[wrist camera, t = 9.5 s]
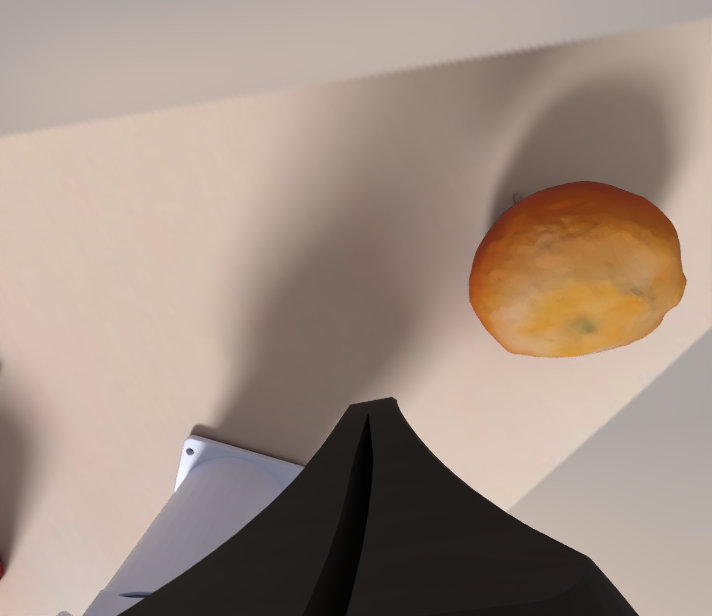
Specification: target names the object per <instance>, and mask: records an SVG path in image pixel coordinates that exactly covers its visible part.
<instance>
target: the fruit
mask: <svg viewBox="0 0 712 616" xmlns="http://www.w3.org/2000/svg"><path fill="white" fill-rule="evenodd" d="M513 197H514V199H515V202H516V204H515V205H514V206H513V207H511V208H510V209H508V210H507V211H506V212H505V213H503V214H502V215H501V217H500V218H499V219H498V220H497V221H496V222H495V224H494V225H493V226H492V227H491V229H490V230H489V231H488V233H487V234H486V236H485V237H484V239H483V240H482V242H481V244H480V245H479V247H478V249H477V251H476V254H475V257H474V261H473V265H472V270H471V274H470V278H469V298H470V303H471V305H472V307H473V309H474V311H475V313H476V315H477V316H478V318H479V320H480V321H481V323H482V324H483V326H484V327H485V329H486V330H487V331H488V332H489V333H490V334H491V335H492V336H493V337H494V338H495V339H496V340H497V341H498V342H499V343H500V344H501V345H502V346H503V347H504V348H505V349H506V350H507V351H508V352H510V353H513V354H521V355H529V356H534V357H555V358H558V357H577V356H584V355H588V354H593V353H598V352H602V351H606V350H610V349H614V348H618V347H621V346H625V345H628V344H630V343H632V342H635V341H637V340H640V339H642V338H644V337H645V336H647V335H648V334H650V333H651V332H652V331H653V330H654V329H656V328H657V327H658V326H659V325H660V323H661V322H662V320H663V317H664V315H665V314H666V313H667V312H668V311H669V310H670V309H672V308H673V307H675V306H677V305H678V304H679V302H680V301H681V298H682V296H683V293H684V289H685V286H686V278H685V275H684V273H683V270H682V263H681V252H680V243H679V239H678V235H677V231H676V229H675V228H674V226H673V224H672V223H671V221H670V220H669V219H668V218H667V217H666V216H665V214H664V213H663V212H662V211H661V210H660V209H659V208H658V207H656V206H655V205H654V204H652V203H651V202H650V201H648V200H647V199H645V198H643V197H641V196H638V195H635V194H633V193H630V192H627V191H624V190H622V189H619V188H616V187H614V186H611V185H607V184H603V183H598V182H590V181H580V182H573V183H568V184H563V185H559V186H555V187H551V188H548V189H545V190H542V191H539V192H537V193H534V194H532V195H530V196H528V197H526V198H524V199H523V200H521V198H520V197H519V195H518V193H517V194H516V195H515V194H514V196H513Z"/></svg>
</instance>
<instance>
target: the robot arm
mask: <svg viewBox="0 0 712 616" xmlns="http://www.w3.org/2000/svg"><path fill="white" fill-rule="evenodd" d="M189 448H191V449H193V451H191V450H190V449H189ZM56 616H73V615H71V614H70V613H68V612H67V611H62V612H60V613H59V614H58V615H56ZM83 616H639V615H638V614H637V613H636V612H635V610H634V609H633V608H632V607H631V605H630V604H629V603H628V602H627V600H626V599H625V598H624V597H623V596H622V594H621V593H620V592H619V591H618V590H617V588H616V587H615V586H614V585H613V584H612V582H611V581H610V580H609V579H608V578H607V577H606V576H605V575H604V573H603V572H602V571H601V570H600V569H599V567H598V566H597V565H596V564H595V563H594V562H593V561H592V560H591V559H590V558H589V557H587V556H586V555H584V554H582V553H580V552H578V551H576V550H574V549H572V548H570V547H568V546H566V545H564V544H562V543H560V542H558V541H556V540H554V539H553V538H551V537H549V536H547V535H545V534H543V533H541V532H539V531H537V530H535V529H533V528H531V527H529V526H528V525H526V524H524V523H522V522H521V521H519V520H518V519H516V518H514V517H513V516H511V515H509V514H508V513H506V512H505V511H503V510H502V509H500V508H499V507H498V506H496V505H495V504H493V503H492V502H491V501H489V500H488V499H486V498H485V497H483V496H482V495H481V494H479V493H478V492H476V491H475V490H473V489H472V488H471V487H470V486H468V485H467V484H466V483H465V482H464V481H462V480H461V479H460V478H459V477H458V476H456V475H455V474H454V473H453V472H452V471H451V470H450V469H449V468H447V467H446V466H445V465H444V464H443V463H442V462H441V461H440V460H439V459H438V458H437V457H436V456H435V455H434V454H433V453H432V452H431V451H430V450H429V448H428V447H427V446H426V445H425V444H424V443H423V442H422V441H421V439H420V438H419V437H418V436H417V434H416V433H415V432H414V430H413V429H412V428H411V426H410V425H409V424H408V422H407V421H406V419H405V418H404V416H403V414H402V413H401V411H400V409H399V407H398V404H397V400H396V399H394V398H393V397H389V398H384V399H378V400H373V401H367V402H362V403H357V404H351V405H350V406H349V407H348V409H347V410H346V412H345V413H344V415H343V416H342V418H341V419H340V421H339V422H338V424H337V425H336V427H335V428H334V429H333V431H332V432H331V434H330V435H329V437H328V438H327V439H326V441H325V442H324V444H323V445H322V446H321V448H320V449H319V450H318V451H317V453H316V454H315V455H314V456H313V458H312V459H311V460H310V461H309V463H308V464H307V465H306V466H305V467H303V466H300V465H296V464H293V463H289V462H286V461H282V460H279V459H276V458H272V457H269V456H265V455H262V454H258V453H255V452H251V451H248V450H245V449H241V448H238V447H234V446H231V445H227V444H224V443H220V442H217V441H214V440H210V439H207V438H203V437H200V436H196V435H190V436H189V437H187V439H186V440H185V441H184V445H183V450H182V455H181V459H180V464H179V469H178V474H177V478H176V483H175V488H174V493H173V495H172V496H171V498H170V499H169V501H168V502H167V503H166V505H165V506H164V507H163V509H162V510H161V512H160V513H159V514H158V516H157V517H156V518H155V520H154V521H153V523H152V524H151V525H150V527H149V528H148V530H147V531H146V532H145V534H144V535H143V536H142V538H141V539H140V541H139V542H138V543H137V545H136V546H135V547H134V549H133V550H132V552H131V553H130V554H129V556H128V557H127V558H126V560H125V561H124V563H123V564H122V565H121V567H120V568H119V570H118V571H117V572H116V574H115V575H114V576H113V578H112V579H111V581H110V582H109V583H108V585H107V586H106V587H105V589H104V590H101V591H100V593H99V594H98V595H97V597H96V598H95V599H94V601H93V602H92V603H91V605H90V606H89V608H88V609H87V610H86V612H85V613H84V614H83Z"/></svg>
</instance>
